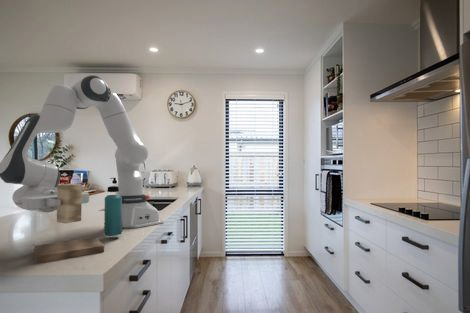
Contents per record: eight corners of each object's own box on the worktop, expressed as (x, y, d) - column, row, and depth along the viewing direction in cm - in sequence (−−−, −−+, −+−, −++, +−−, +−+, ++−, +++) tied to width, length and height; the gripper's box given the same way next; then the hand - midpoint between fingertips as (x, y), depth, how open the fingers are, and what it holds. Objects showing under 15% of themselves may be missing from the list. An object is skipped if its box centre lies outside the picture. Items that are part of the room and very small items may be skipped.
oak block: (71, 219, 95) (72, 183, 96) (81, 220, 93) (81, 184, 93) (56, 222, 91) (57, 184, 91) (66, 223, 88) (66, 185, 89)
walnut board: (94, 242, 103) (95, 237, 103) (104, 251, 91) (104, 245, 92) (34, 252, 92) (34, 245, 92) (36, 263, 81) (36, 256, 81)
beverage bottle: (125, 237, 109) (125, 186, 110) (107, 241, 105) (107, 187, 105) (118, 235, 114) (118, 185, 115) (101, 238, 109) (101, 186, 110)
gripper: (12, 192, 89) (36, 194, 83) (74, 188, 107) (98, 189, 101) (11, 212, 89) (36, 216, 82) (74, 204, 107) (98, 207, 100)
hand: (71, 201), depth 92 cm, fingers closed on oak block, 5 cm apart
